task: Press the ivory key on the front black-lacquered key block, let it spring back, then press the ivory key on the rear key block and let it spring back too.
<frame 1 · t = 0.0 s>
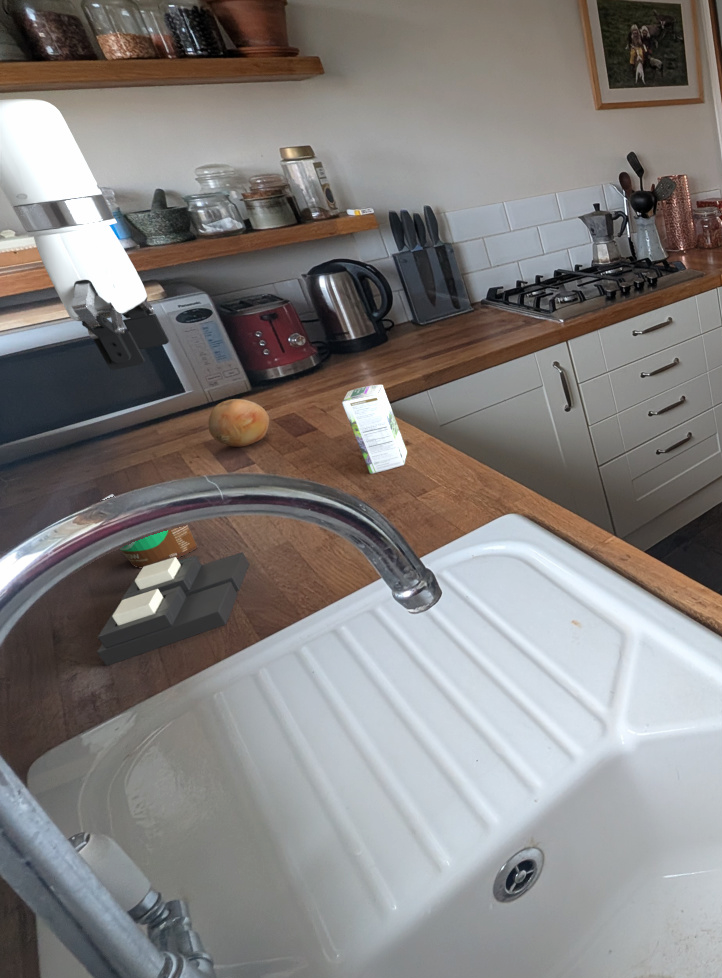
hand: (142, 355, 84), 33 cm above the worktop, tool pointing down, fingers open, 9 cm apart
syrup box: (390, 464, 124), on the worktop
onion: (250, 444, 141), on the worktop
food container: (154, 561, 102), on the worktop
key front: (139, 607, 84), point 4 cm above the worktop, slide at 0.1 cm
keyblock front: (176, 628, 87), on the worktop
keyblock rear: (192, 593, 93), on the worktop
key rear: (158, 573, 91), point 4 cm above the worktop, slide at 0.1 cm
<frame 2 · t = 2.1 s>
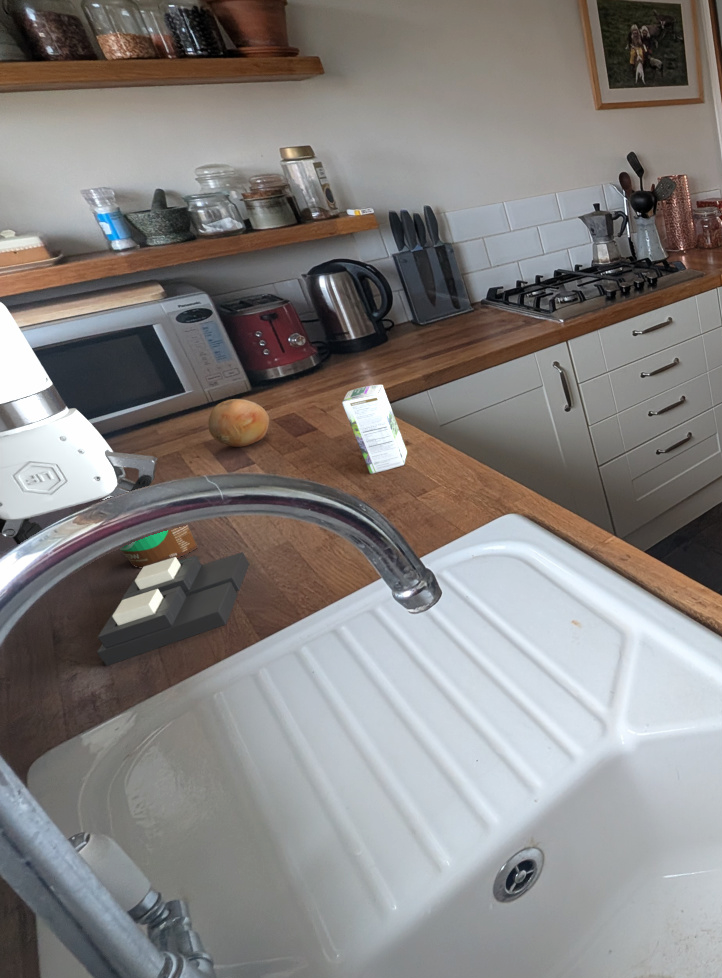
hand: (98, 542, 80), 14 cm above the worktop, tool pointing down, fingers open, 9 cm apart
nothing on the worktop moved.
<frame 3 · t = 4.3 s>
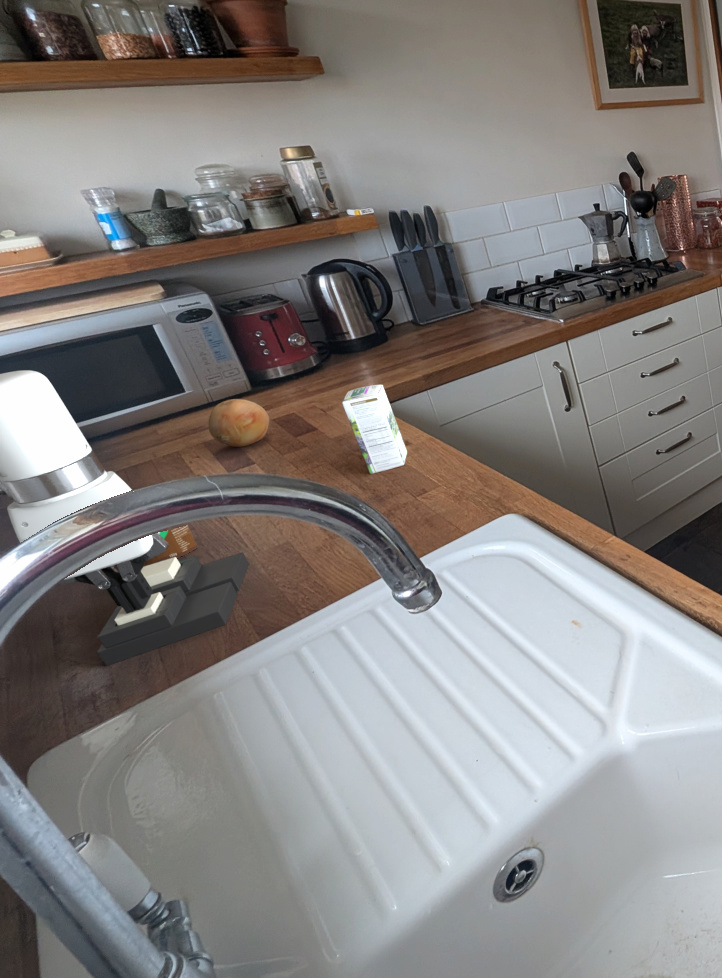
hand: (139, 604, 84), 5 cm above the worktop, tool pointing down, fingers closed
key front: (141, 610, 84), point 4 cm above the worktop, slide at -0.5 cm, touching gripper
everything else where it was.
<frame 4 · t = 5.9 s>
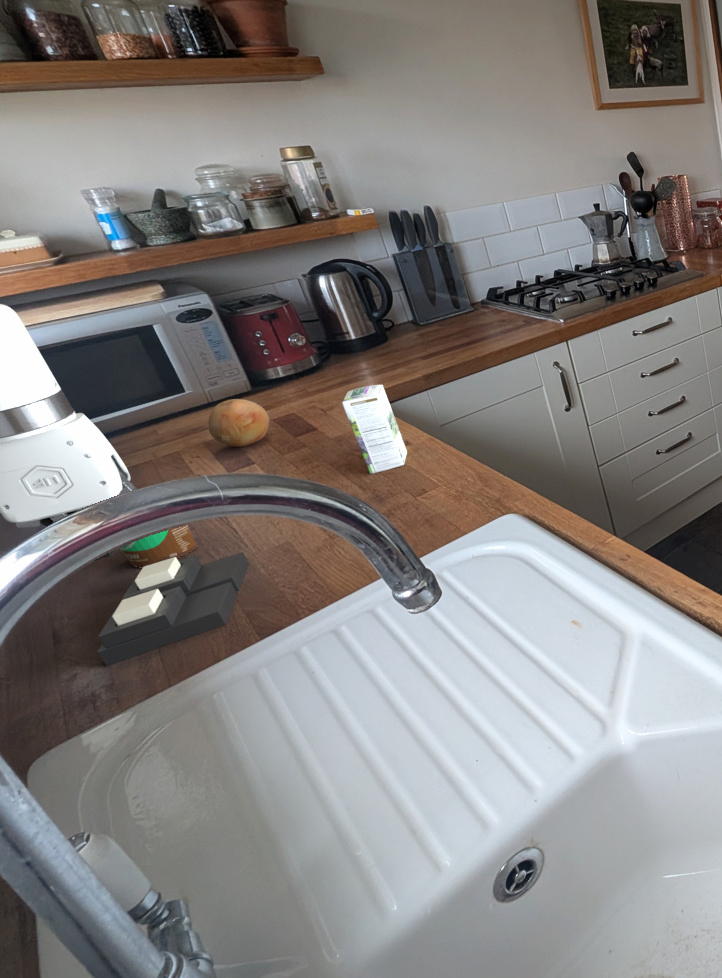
hand: (107, 552, 82), 12 cm above the worktop, tool pointing down, fingers closed
key front: (139, 607, 84), point 4 cm above the worktop, slide at 0.1 cm
everything else where it was.
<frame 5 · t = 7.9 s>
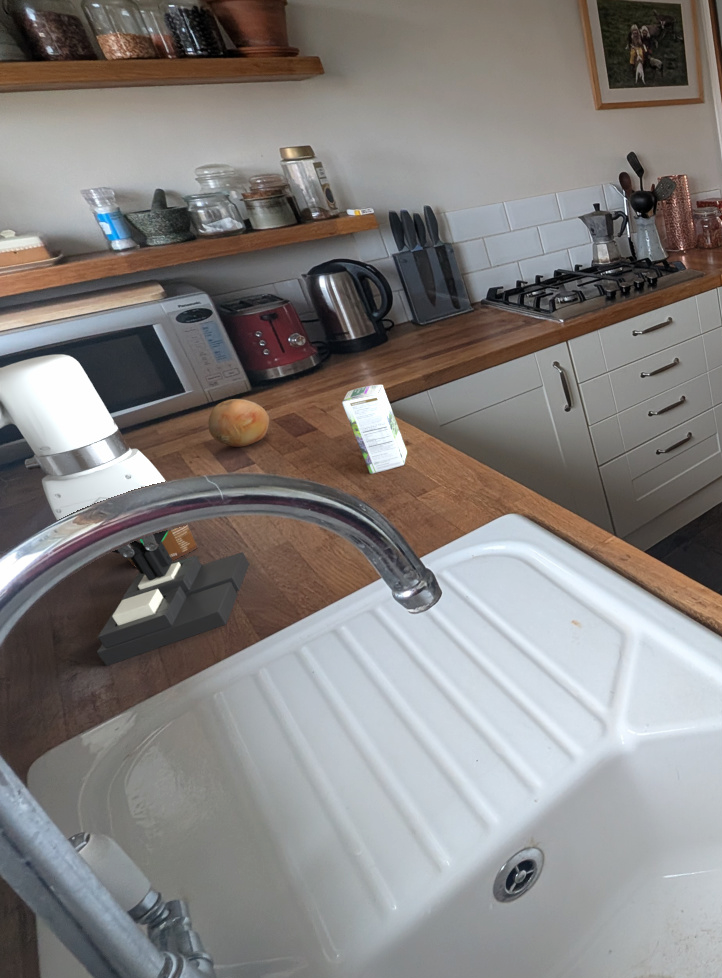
hand: (160, 572, 91), 4 cm above the worktop, tool pointing down, fingers closed
key rear: (161, 578, 91), point 4 cm above the worktop, slide at -0.8 cm, touching gripper
everything else where it was.
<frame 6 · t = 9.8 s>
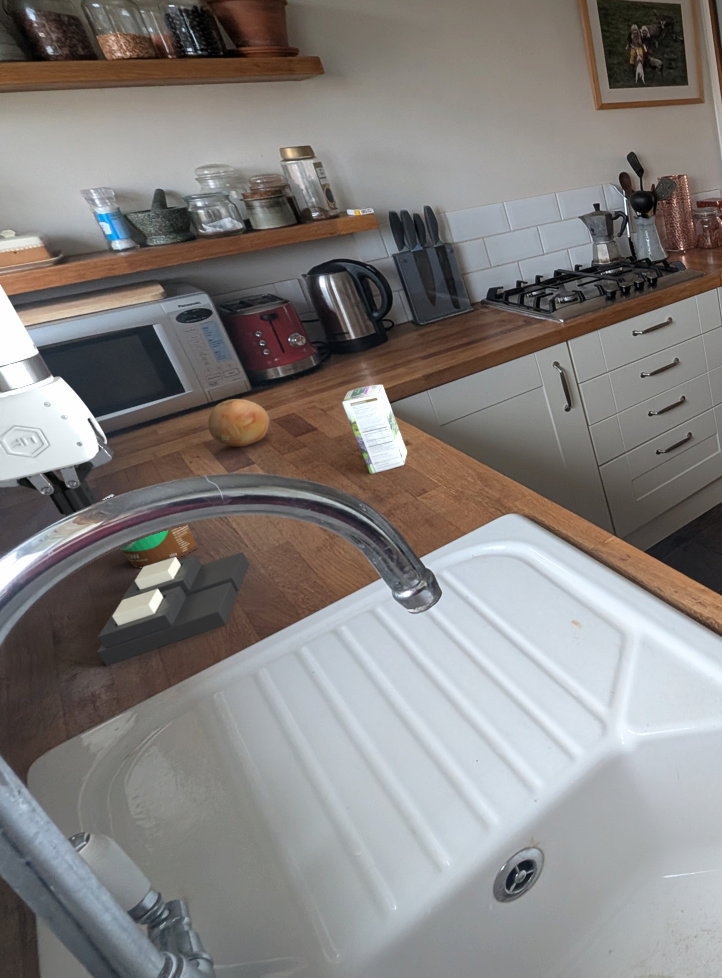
hand: (83, 514, 84), 16 cm above the worktop, tool pointing down, fingers closed
key rear: (158, 573, 91), point 4 cm above the worktop, slide at 0.1 cm
everything else where it was.
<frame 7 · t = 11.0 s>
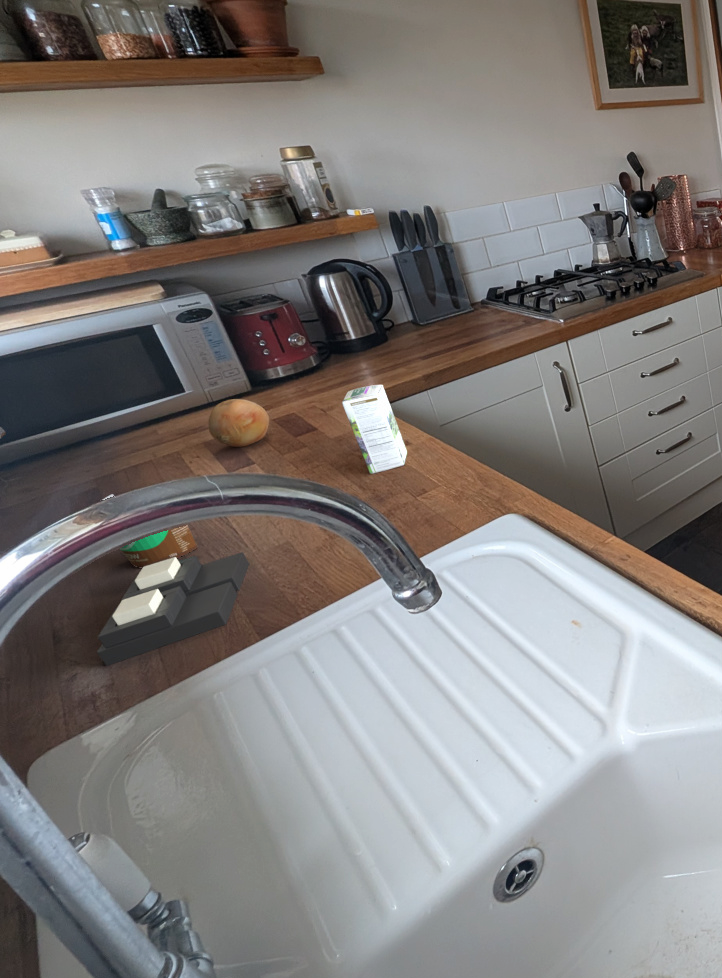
nothing on the worktop moved.
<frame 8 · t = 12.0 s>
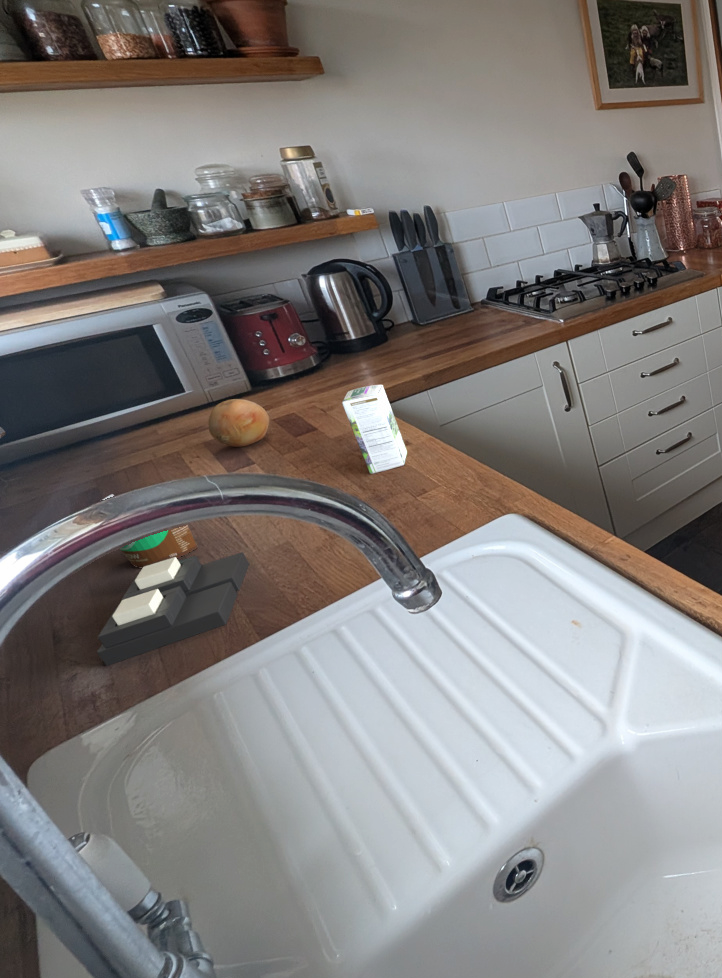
nothing on the worktop moved.
at the end: key front pushed in 1.1 cm at the most during the clip, back to where it started at the end; key rear pushed in 1.1 cm at the most during the clip, back to where it started at the end; key rear slide at 0.1 cm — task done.
